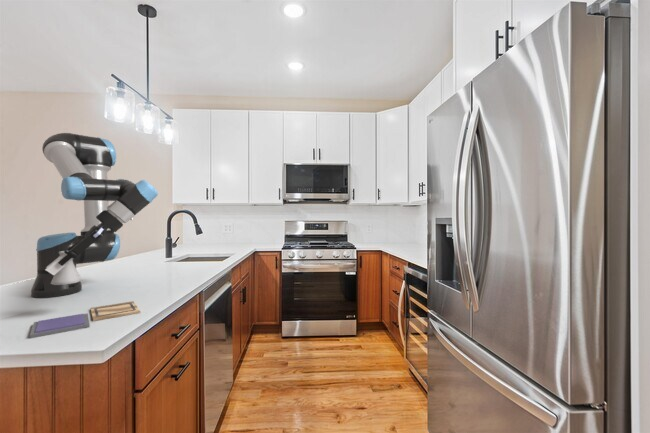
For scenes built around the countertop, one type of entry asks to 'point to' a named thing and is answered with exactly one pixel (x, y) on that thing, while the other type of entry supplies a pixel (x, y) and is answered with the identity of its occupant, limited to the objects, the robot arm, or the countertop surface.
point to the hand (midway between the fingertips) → (50, 271)
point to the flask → (66, 274)
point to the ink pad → (59, 325)
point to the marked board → (114, 311)
